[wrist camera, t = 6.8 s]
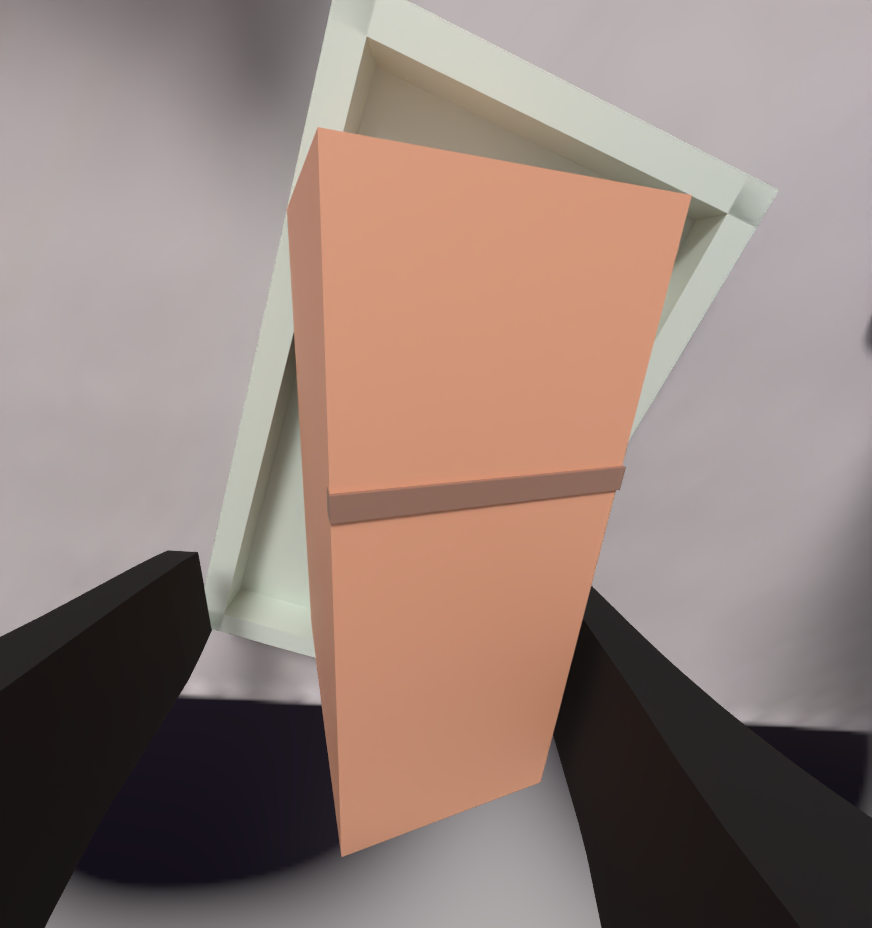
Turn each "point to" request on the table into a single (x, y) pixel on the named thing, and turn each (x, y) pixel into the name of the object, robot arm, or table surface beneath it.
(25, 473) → the table surface
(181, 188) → the table surface
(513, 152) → the tray
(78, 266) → the table surface
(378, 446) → the orange block
